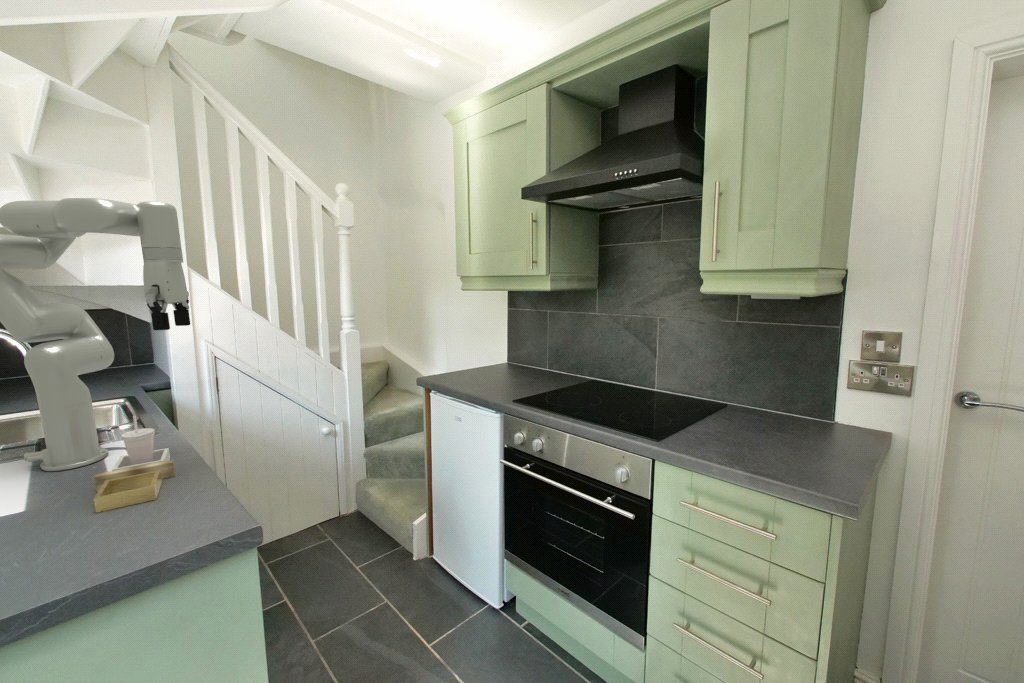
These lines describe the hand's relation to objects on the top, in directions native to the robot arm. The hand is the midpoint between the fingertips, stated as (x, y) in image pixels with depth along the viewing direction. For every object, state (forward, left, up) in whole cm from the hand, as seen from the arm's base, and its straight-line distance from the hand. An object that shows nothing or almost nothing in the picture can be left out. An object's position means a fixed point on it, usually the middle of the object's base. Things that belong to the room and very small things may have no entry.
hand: (172, 327), depth 108 cm
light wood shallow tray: (-10, -15, -35) cm, 39 cm away
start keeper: (-10, +1, -35) cm, 36 cm away
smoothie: (-10, +1, -35) cm, 36 cm away
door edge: (-10, -7, -35) cm, 37 cm away
